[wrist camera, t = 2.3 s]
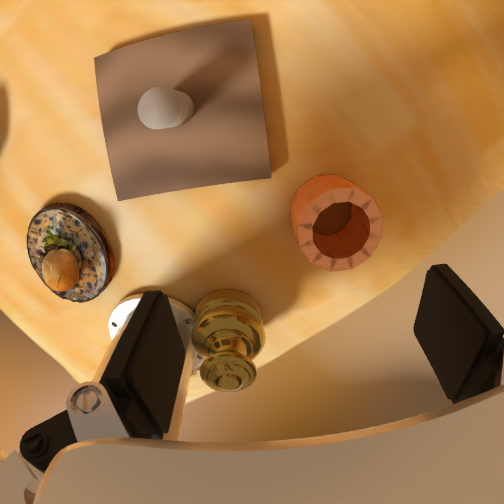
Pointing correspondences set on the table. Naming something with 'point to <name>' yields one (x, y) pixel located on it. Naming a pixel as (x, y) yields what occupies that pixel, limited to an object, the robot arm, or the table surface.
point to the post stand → (183, 111)
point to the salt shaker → (228, 339)
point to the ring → (346, 240)
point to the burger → (70, 252)
